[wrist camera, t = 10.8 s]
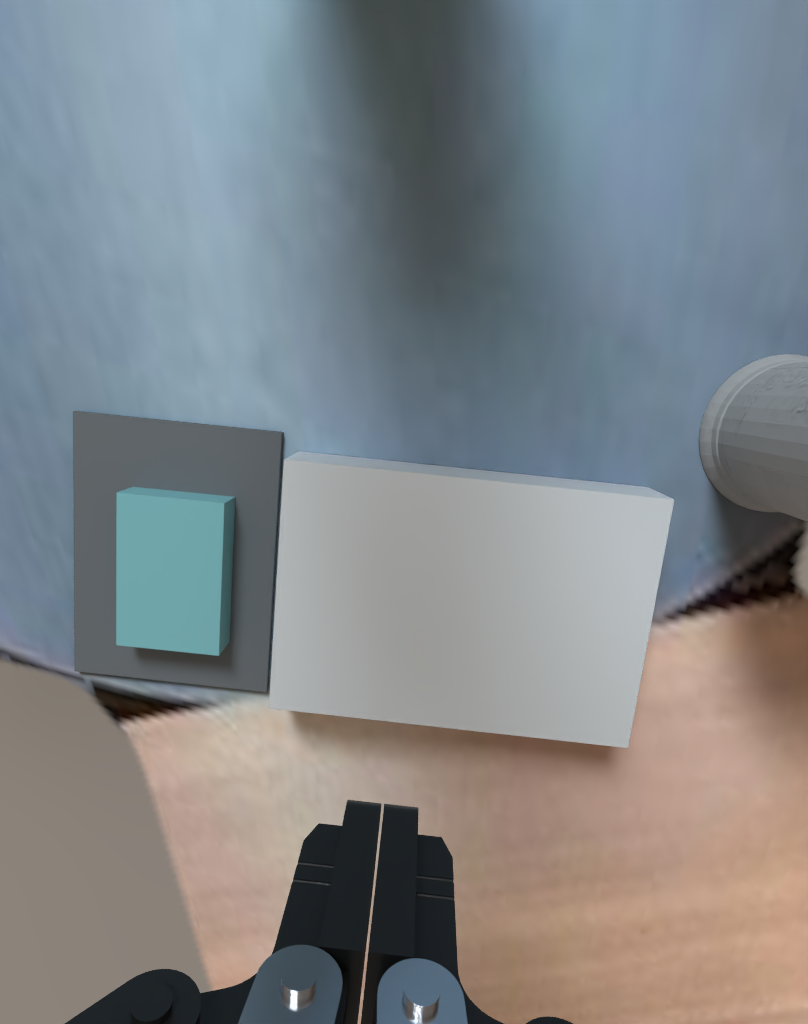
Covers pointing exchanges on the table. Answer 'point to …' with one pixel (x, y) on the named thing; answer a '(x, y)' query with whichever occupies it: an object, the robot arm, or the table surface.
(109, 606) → the mat
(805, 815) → the table surface
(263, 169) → the table surface
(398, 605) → the plate
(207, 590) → the teal rectangular box
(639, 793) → the table surface
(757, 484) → the glass holder
